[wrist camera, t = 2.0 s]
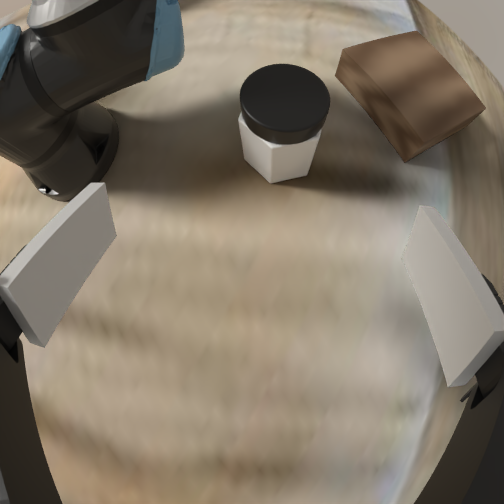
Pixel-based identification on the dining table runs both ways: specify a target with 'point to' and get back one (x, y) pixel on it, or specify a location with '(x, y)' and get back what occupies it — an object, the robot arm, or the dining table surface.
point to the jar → (282, 120)
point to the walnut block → (408, 91)
